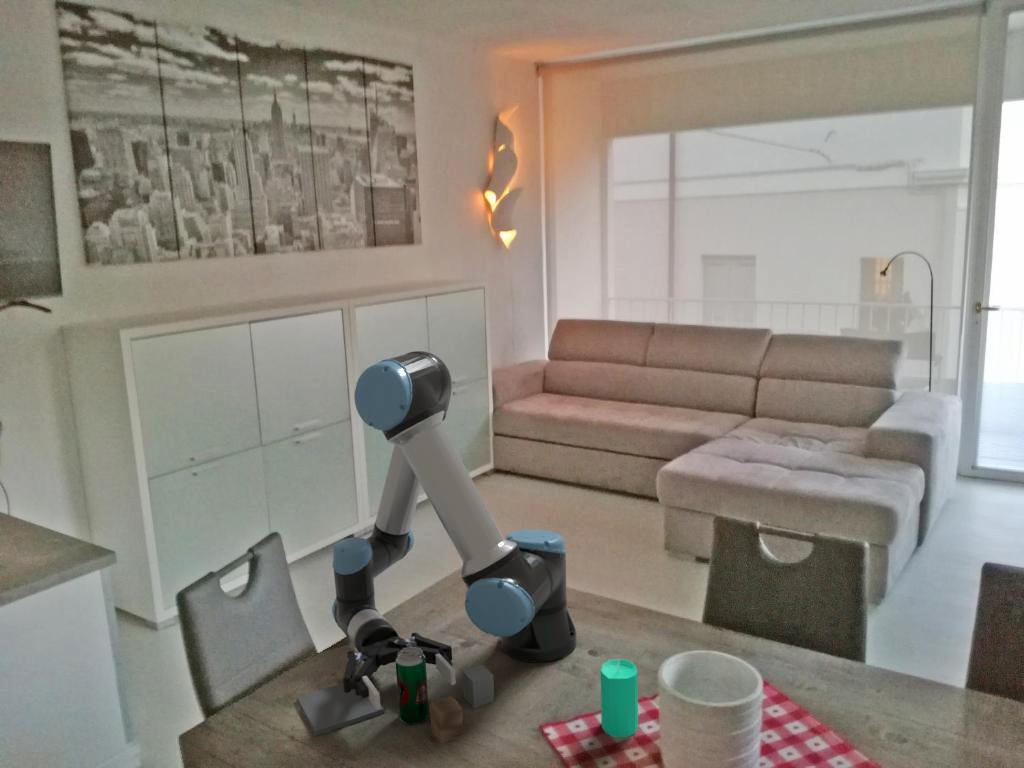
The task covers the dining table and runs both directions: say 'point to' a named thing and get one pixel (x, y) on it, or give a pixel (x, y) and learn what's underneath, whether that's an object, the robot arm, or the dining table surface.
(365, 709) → the grey square plate
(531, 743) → the dining table surface
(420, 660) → the soda can
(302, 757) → the dining table surface
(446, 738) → the walnut block
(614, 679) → the candle
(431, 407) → the robot arm
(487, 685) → the slate grey block
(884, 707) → the dining table surface
